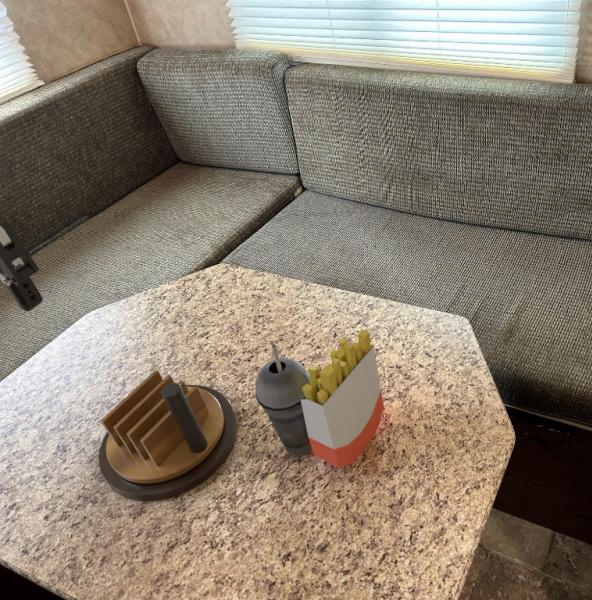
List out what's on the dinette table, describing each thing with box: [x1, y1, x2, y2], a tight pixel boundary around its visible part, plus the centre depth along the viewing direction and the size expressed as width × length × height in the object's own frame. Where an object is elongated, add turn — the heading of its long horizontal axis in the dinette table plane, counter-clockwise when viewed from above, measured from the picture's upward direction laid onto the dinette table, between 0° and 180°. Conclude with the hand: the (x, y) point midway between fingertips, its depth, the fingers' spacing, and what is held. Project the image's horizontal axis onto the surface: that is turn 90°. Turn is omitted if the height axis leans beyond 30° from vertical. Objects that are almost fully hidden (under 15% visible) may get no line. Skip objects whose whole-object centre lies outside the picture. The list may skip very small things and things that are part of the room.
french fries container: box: [301, 329, 385, 468], centre depth 78 cm, size 5×11×18 cm, turn 148°
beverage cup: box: [254, 344, 313, 457], centre depth 78 cm, size 7×7×20 cm
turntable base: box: [98, 384, 239, 502], centre depth 86 cm, size 19×19×2 cm
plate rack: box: [100, 369, 224, 483], centre depth 82 cm, size 16×16×12 cm
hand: (8, 296), depth 66 cm, fingers open, 8 cm apart
